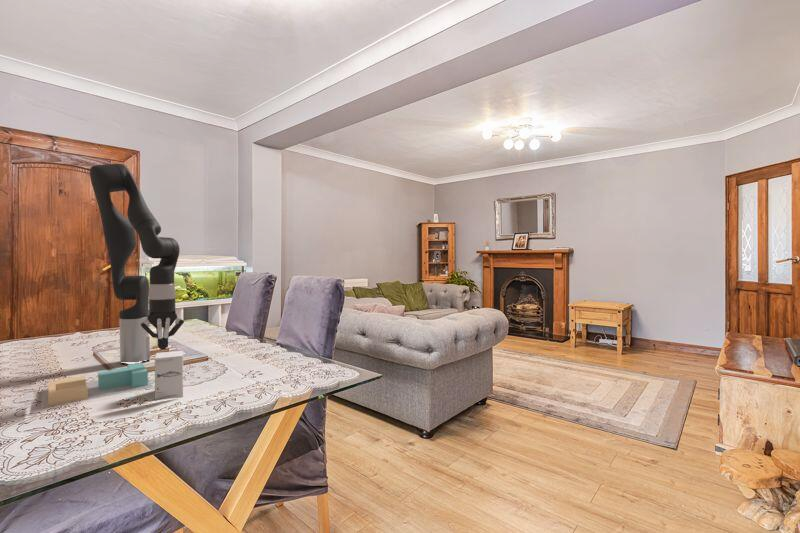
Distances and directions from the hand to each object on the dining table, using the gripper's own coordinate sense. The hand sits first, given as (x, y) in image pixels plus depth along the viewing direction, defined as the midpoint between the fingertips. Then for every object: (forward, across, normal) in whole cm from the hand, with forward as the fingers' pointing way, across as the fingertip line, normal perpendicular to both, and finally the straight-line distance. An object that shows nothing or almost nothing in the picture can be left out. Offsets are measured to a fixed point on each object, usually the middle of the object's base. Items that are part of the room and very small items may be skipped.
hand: (162, 349), depth 133 cm
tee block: (+10, +11, 0) cm, 15 cm away
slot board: (+11, +17, 0) cm, 20 cm away
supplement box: (+11, +1, +17) cm, 20 cm away
